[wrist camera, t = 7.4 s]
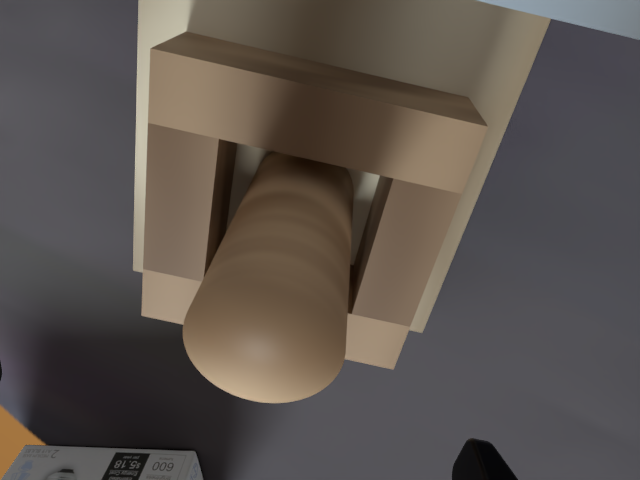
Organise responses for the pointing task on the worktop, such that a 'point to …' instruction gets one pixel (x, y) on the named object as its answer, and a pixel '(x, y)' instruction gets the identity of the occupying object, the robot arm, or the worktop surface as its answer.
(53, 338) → the worktop surface
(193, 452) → the light bulb box
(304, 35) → the awning socket
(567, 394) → the worktop surface
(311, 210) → the peg
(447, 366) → the worktop surface
